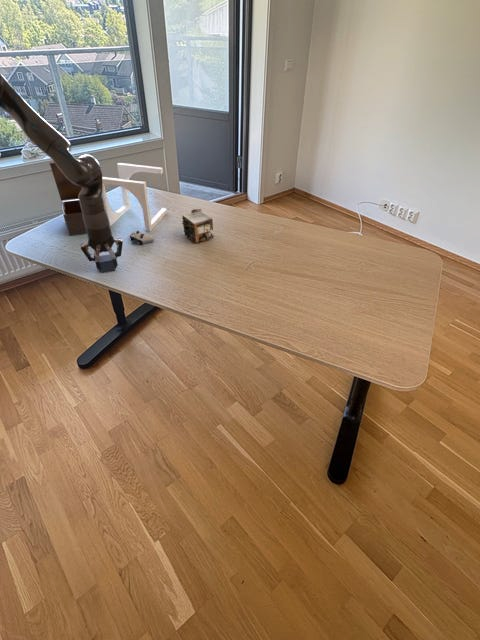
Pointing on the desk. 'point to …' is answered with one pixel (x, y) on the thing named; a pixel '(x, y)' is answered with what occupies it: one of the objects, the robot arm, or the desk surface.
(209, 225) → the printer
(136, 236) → the game controller
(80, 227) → the storage box
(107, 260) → the block
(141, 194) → the white arched cube frame
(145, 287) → the desk surface
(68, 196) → the lid
